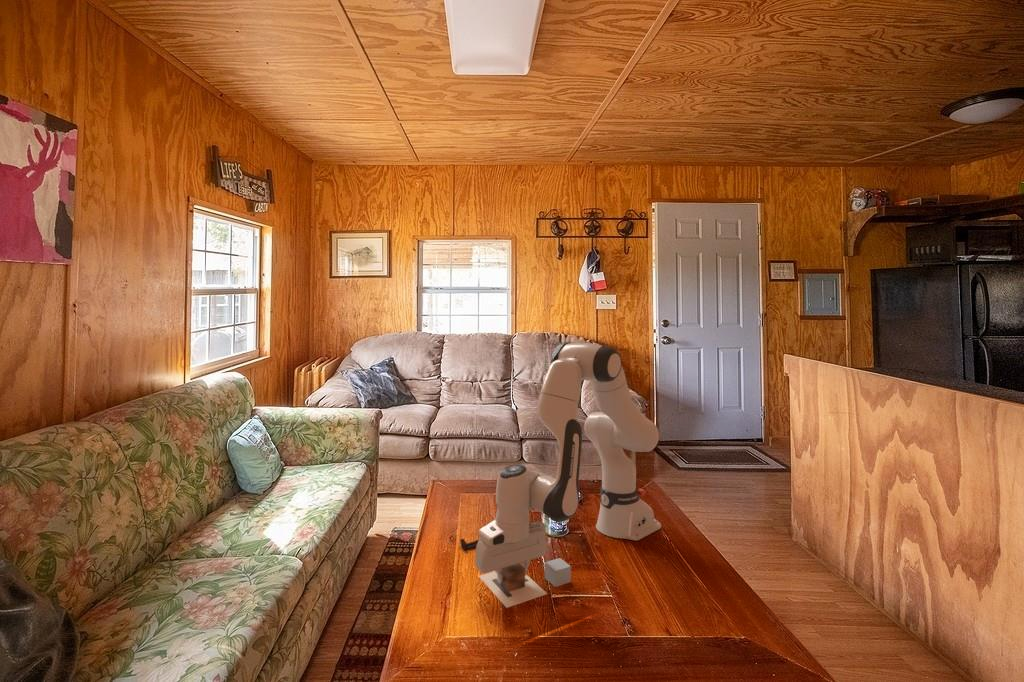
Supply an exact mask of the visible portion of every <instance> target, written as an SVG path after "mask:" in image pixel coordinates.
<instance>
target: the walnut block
mask: <svg viewBox="0 0 1024 682" xmlns="http://www.w3.org/2000/svg"><path fill="white" fill-rule="evenodd" d="M500 573H503V575H504V576H505V582H504V583H501V585H502V586H503V587H504V588H505V589H506V590H507V591H508V592H510V591H513V590H516V589H519V588H522V587H525V568H524V567H523V566H522V563H518V564H514V565H511V566H507V567H504V568H502V571H501V572H500Z"/></svg>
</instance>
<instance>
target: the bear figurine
mask: <svg viewBox="0 0 1024 682" xmlns="http://www.w3.org/2000/svg"><path fill="white" fill-rule="evenodd" d="M482 527H483V526H481V528H482ZM481 528H480V529H481ZM479 540H480V539H476V540H474V541H470V542H467V541H466V540H465V538H461V539H460V540H459V541H460V546H461V548H462V550H463V551H466V552H467V551H469V550H472V549H476V546H477V543H478V541H479Z"/></svg>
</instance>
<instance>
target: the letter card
mask: <svg viewBox="0 0 1024 682" xmlns="http://www.w3.org/2000/svg"><path fill="white" fill-rule="evenodd" d="M478 577H479V579H480V580H481V581H482V582H483V583H484V584H485V586H486V587H487V588H489V590H490V591H491V592H492V593H493V594H494V595H495V597H496V598H497V599H498V600H499V601H500V602H501V603H502V604H503V606H504V607H505V608H506V609H508V608H510V607H513V606H517V605H520V604H523V603H525V602H528V601H531V600H533V599H537V598H539V597H543V596H546V595H548V593H547V592H546V591H545V590H544V589H543V588H542V587H541V586H539V585H538V584H537V582H535V581H534V580H533V579H532V578H531V577H530V576H529V575H528V574H527V573H526V576H525V587H522V588H519V589H516V590H513V591H510V592H508V591H507V590H506V589H505V588H504V587H503V586H502V585H501V584H500V583H499V582H498V581H497V574H496V572H495V571H490V572H487V573H482V574H480V575H478Z"/></svg>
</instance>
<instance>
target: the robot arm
mask: <svg viewBox="0 0 1024 682" xmlns="http://www.w3.org/2000/svg"><path fill="white" fill-rule="evenodd" d="M550 362H551V363H550V365H549V367H548V369H547V372H546V374H545V376H544V379H543V382H542V386H541V390H540V394H539V396H538V401H537V408H536V409H537V410H536V411H537V412H536V413H537V416H538V419H539V420H540V422H541V424H542V425H543V426H544V427H545V428H546V429H548V431H549V432H550V433H551V434H552V435H553V436H554V437H555V438H556V441H557V443H558V447H559V451H558V452H559V453H558V460H557V461H558V463H557V471H556V474H557V475H556V478H555V477H553V476H550V475H548V474H546V473H544V472H540V471H538V470H531V469H528V467H526V466H525V465H523V464H510V465H507V466H505V467H503V468H501V470H500V471H499V473H498V477H497V479H496V480H497V481H496V487H495V488H496V489H495V490H496V491H495V502H496V506H497V507H496V508H497V511H496V514H495V519H493V520H492V521H490V522H489V523H487V524H485V525H484V526H481V527H482V528H480V529H478V531H477V533H478V534H477V535H478V537H479V538H480V539H478V540H479V541H478V543H477V546H476V548H475V556H474V557H475V559H474V560H475V561H474V564H475V567H476V569H478V571H479V572H481V573H482V574H486V573H490V572H493V571H495V572H496V574H497V581H498V582H499V583H500V584H501V583H504V582H505V576H504V575H503V573H500V572H501V571H502V568H504V567H507V566H511V565H514V564H518V563H520V564H521V565H522V566H523V567H524V568H525V576H526V574H527V570H528V568H529V566H530V565H531V560H534V559H538V558H541V557H544V556H545V555H546V553H547V551H548V547H547V539H546V538H547V537H546V524H545V523H544V522H542V520H541V521H540V520H539V521H535V522H530V511H531V510H535V511H537V512H539V513H540V514H543V515H545V516H546V517H548V518H549V519H551V521H554V522H556V523H563V522H565V521H568V520H569V519H571V518H572V517H573V516H574V515H575V514H576V513H577V510H578V509H579V506H580V491H579V490H580V489H579V481H580V480H579V479H580V468H581V467H580V466H581V457H582V445H583V429H584V433H585V435H586V437H587V438H588V439H589V441H591V443H592V444H593V446H594V447H595V449H596V451H597V453H598V456H599V460H600V462H601V485H600V493H599V494H600V496H599V498H600V505H599V512H598V515H597V522H596V525H595V528H596V530H597V531H598V532H599V533H600V534H603V535H604V536H607V537H611V538H614V539H626V540H631V541H640V540H641V539H643V538H645V537H647V536H649V535H651V534H653V533H654V532H656V531H659V530H661V529H662V524H661V523H660V522H659V521H658V520H657V519H655V514H654V510H653V508H652V506H650V505H649V504H647V502H645V501H643V499H641V498H640V496H642V497H643V496H645V494H646V490H645V489H642V488H640V487H639V488H638V487H637V485H636V483H637V468H636V465H635V463H634V462H633V461H632V460H631V459H630V458H629V457H628V456H627V455H626V452H624V450H628V451H632V452H642V453H643V452H645V453H646V452H651V451H652V450H654V449H655V448H656V446H657V445H658V444H659V443H658V442H659V438H660V433H659V429H658V427H657V424H656V423H654V422H653V421H652V420H650V419H649V418H647V417H646V416H645V415H644V414H643V413H642V412H641V411H640V410H639V409H638V406H637V405H636V404H635V402H634V401H633V399H632V396H631V393H630V390H629V387H628V382H627V378H626V374H625V371H624V368H623V363H622V362H623V361H622V357H621V355H620V353H619V351H618V349H616V348H614V347H611V346H609V345H602V344H596V343H591V342H571V341H568V342H566V341H565V342H562V343H559V344H558V345H556V347H555V348H554V349H553V351H552V353H551V357H550ZM584 381H589V383H590V387H591V390H592V394H593V397H594V401H595V405H596V407H597V408H598V410H600V411H595V412H594V411H593V412H591V413H589V414H588V416H587V417H586V418H585V421H584V426H583V429H582V425H581V424H580V422H579V419H578V418H579V417H578V408H579V407H578V406H579V401H580V396H581V391H582V382H584Z"/></svg>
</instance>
